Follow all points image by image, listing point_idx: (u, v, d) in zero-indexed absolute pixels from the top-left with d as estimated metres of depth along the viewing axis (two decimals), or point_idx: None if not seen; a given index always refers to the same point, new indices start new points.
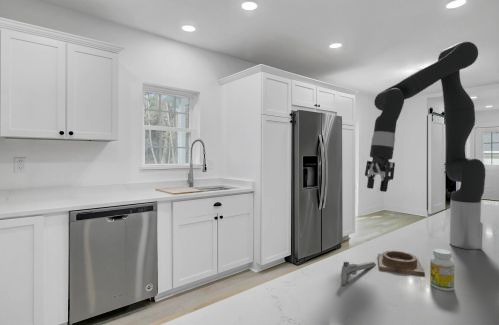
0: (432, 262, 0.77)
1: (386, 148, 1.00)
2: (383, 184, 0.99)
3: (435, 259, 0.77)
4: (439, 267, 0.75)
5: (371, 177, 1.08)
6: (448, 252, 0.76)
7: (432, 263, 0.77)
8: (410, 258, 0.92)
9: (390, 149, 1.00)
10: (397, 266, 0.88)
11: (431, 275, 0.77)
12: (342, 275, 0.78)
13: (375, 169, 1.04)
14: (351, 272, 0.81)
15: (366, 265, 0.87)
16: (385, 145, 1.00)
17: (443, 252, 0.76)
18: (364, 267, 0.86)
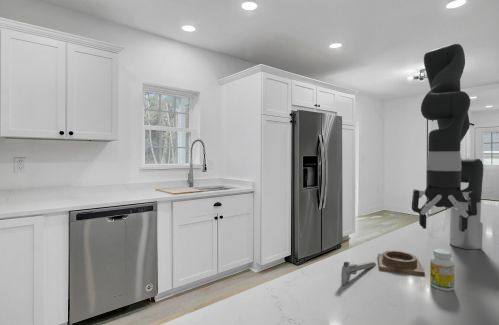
0: (432, 262, 0.77)
1: (460, 173, 0.74)
2: (466, 222, 0.74)
3: (435, 259, 0.77)
4: (439, 267, 0.75)
5: None
6: (448, 252, 0.76)
7: (432, 263, 0.77)
8: (410, 258, 0.92)
9: None
10: (397, 266, 0.88)
11: (431, 275, 0.77)
12: (342, 275, 0.78)
13: (441, 202, 0.75)
14: (351, 272, 0.81)
15: (366, 265, 0.87)
16: (461, 170, 0.74)
17: (443, 252, 0.76)
18: (364, 267, 0.86)
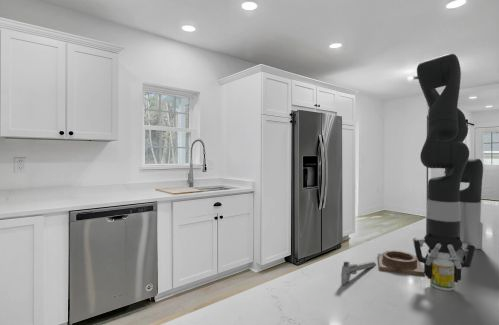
0: (432, 262, 0.77)
1: None
2: (459, 273, 0.75)
3: (435, 259, 0.77)
4: (439, 266, 0.75)
5: None
6: None
7: (432, 263, 0.77)
8: (410, 258, 0.92)
9: None
10: (397, 266, 0.88)
11: (431, 275, 0.77)
12: (342, 275, 0.78)
13: (441, 251, 0.76)
14: (351, 272, 0.81)
15: (366, 265, 0.87)
16: (460, 219, 0.74)
17: None
18: (364, 267, 0.86)
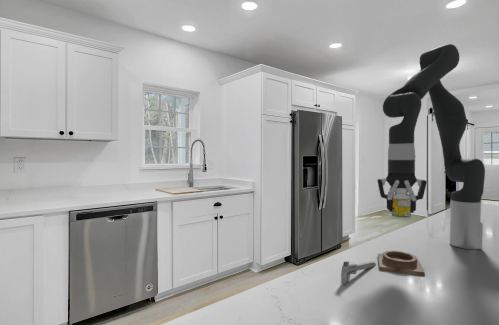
0: (392, 197, 0.91)
1: (414, 162, 0.88)
2: (414, 205, 0.89)
3: (395, 194, 0.90)
4: (397, 199, 0.89)
5: None
6: (405, 188, 0.89)
7: (392, 198, 0.91)
8: (410, 258, 0.92)
9: None
10: (397, 266, 0.88)
11: (392, 208, 0.91)
12: (342, 275, 0.79)
13: (399, 187, 0.90)
14: (351, 272, 0.81)
15: (366, 265, 0.87)
16: (414, 159, 0.88)
17: (401, 188, 0.89)
18: (364, 267, 0.87)
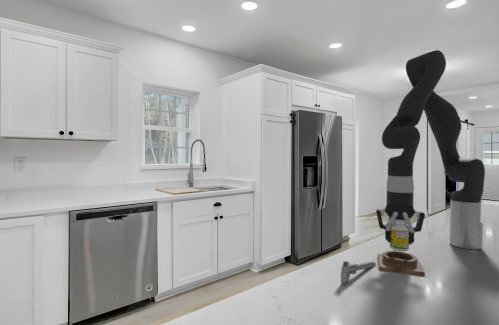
0: (391, 228, 0.91)
1: None
2: (412, 237, 0.89)
3: (393, 225, 0.91)
4: (396, 231, 0.89)
5: (389, 229, 0.92)
6: None
7: (391, 229, 0.91)
8: (410, 258, 0.92)
9: None
10: (397, 266, 0.88)
11: (390, 239, 0.92)
12: (342, 275, 0.79)
13: (398, 218, 0.90)
14: (351, 272, 0.81)
15: (366, 265, 0.88)
16: None
17: None
18: (364, 267, 0.87)
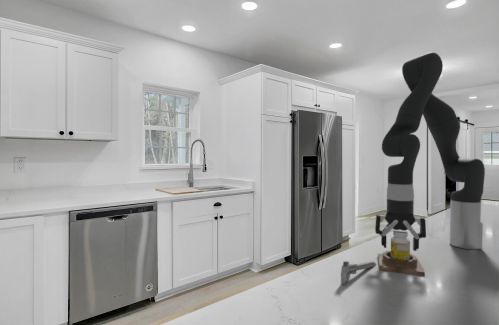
0: (391, 240, 0.91)
1: (413, 202, 0.89)
2: (417, 243, 0.89)
3: (394, 238, 0.91)
4: (397, 244, 0.90)
5: (385, 234, 0.93)
6: (405, 232, 0.90)
7: (392, 241, 0.91)
8: (410, 258, 0.92)
9: None
10: (397, 266, 0.88)
11: (391, 251, 0.92)
12: (342, 275, 0.79)
13: (398, 226, 0.90)
14: (351, 272, 0.81)
15: (366, 265, 0.88)
16: (413, 199, 0.88)
17: (401, 232, 0.90)
18: (364, 267, 0.87)
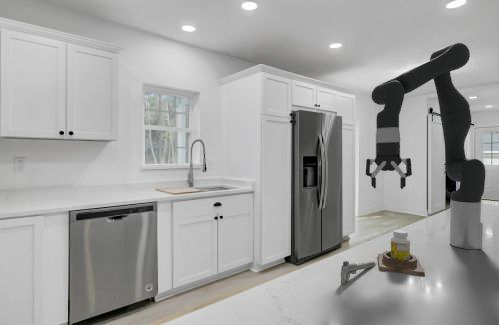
0: (391, 240, 0.91)
1: (399, 144, 0.97)
2: (404, 181, 0.97)
3: (394, 238, 0.91)
4: (397, 244, 0.90)
5: None
6: (405, 232, 0.90)
7: (392, 241, 0.91)
8: (410, 258, 0.92)
9: None
10: (397, 266, 0.88)
11: (391, 251, 0.92)
12: (342, 274, 0.79)
13: (386, 167, 0.98)
14: (351, 271, 0.81)
15: (366, 265, 0.88)
16: (399, 141, 0.97)
17: (401, 232, 0.90)
18: (364, 267, 0.87)
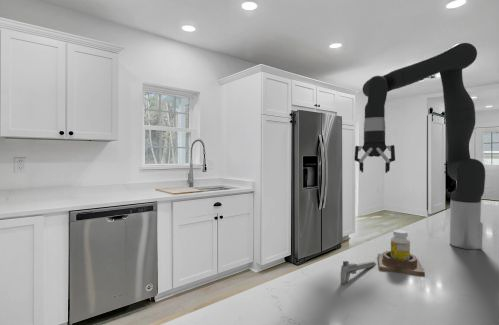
0: (391, 240, 0.91)
1: None
2: (388, 166, 1.08)
3: (394, 238, 0.91)
4: (397, 244, 0.90)
5: (362, 161, 1.12)
6: (405, 232, 0.90)
7: (392, 241, 0.91)
8: (410, 258, 0.92)
9: None
10: (397, 266, 0.88)
11: (391, 251, 0.92)
12: (341, 274, 0.79)
13: (373, 153, 1.10)
14: (351, 271, 0.81)
15: (366, 265, 0.88)
16: (384, 130, 1.08)
17: (401, 232, 0.90)
18: (364, 267, 0.87)
